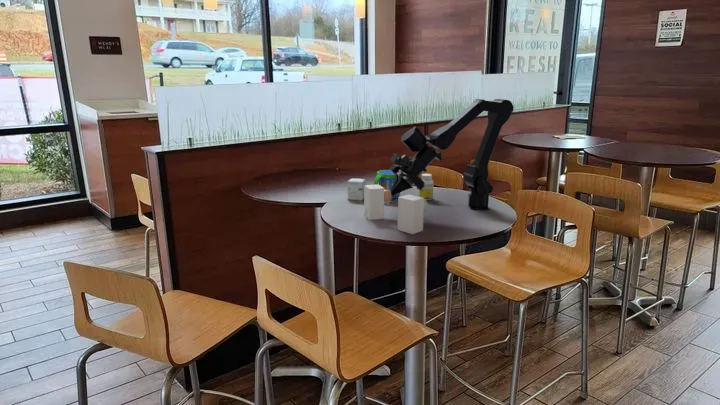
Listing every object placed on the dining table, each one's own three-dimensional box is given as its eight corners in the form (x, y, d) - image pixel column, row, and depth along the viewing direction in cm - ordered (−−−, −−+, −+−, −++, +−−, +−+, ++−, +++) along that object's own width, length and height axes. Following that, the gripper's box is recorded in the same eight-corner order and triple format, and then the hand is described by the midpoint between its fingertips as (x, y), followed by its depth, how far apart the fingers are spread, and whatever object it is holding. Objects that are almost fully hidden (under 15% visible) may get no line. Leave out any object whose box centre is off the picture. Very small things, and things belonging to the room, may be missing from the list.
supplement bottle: (418, 197, 192) (419, 173, 190) (432, 197, 192) (433, 173, 190) (419, 200, 187) (420, 176, 185) (433, 200, 187) (434, 176, 185)
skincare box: (347, 199, 189) (347, 181, 187) (351, 195, 195) (351, 177, 193) (362, 200, 188) (362, 181, 186) (366, 196, 193) (366, 178, 192)
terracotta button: (386, 200, 168) (387, 188, 167) (391, 203, 164) (391, 190, 163) (368, 201, 167) (369, 189, 165) (373, 205, 162) (373, 192, 161)
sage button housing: (408, 226, 156) (408, 194, 153) (422, 230, 151) (423, 197, 149) (397, 229, 152) (398, 197, 150) (412, 234, 148) (413, 200, 145)
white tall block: (378, 213, 170) (378, 184, 167) (383, 218, 164) (384, 188, 161) (364, 215, 168) (364, 185, 165) (369, 219, 163) (369, 189, 160)
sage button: (416, 210, 156) (417, 197, 155) (427, 213, 153) (428, 199, 152) (403, 214, 152) (403, 200, 150) (414, 217, 148) (414, 203, 147)
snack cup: (397, 192, 201) (397, 167, 198) (413, 197, 192) (414, 171, 190) (366, 197, 193) (366, 171, 190) (381, 202, 184) (382, 176, 181)
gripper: (395, 141, 172) (365, 174, 171) (416, 149, 154) (383, 185, 154) (415, 162, 176) (386, 194, 176) (438, 172, 159) (406, 207, 158)
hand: (389, 194), depth 166 cm, fingers closed, pressing on terracotta button
